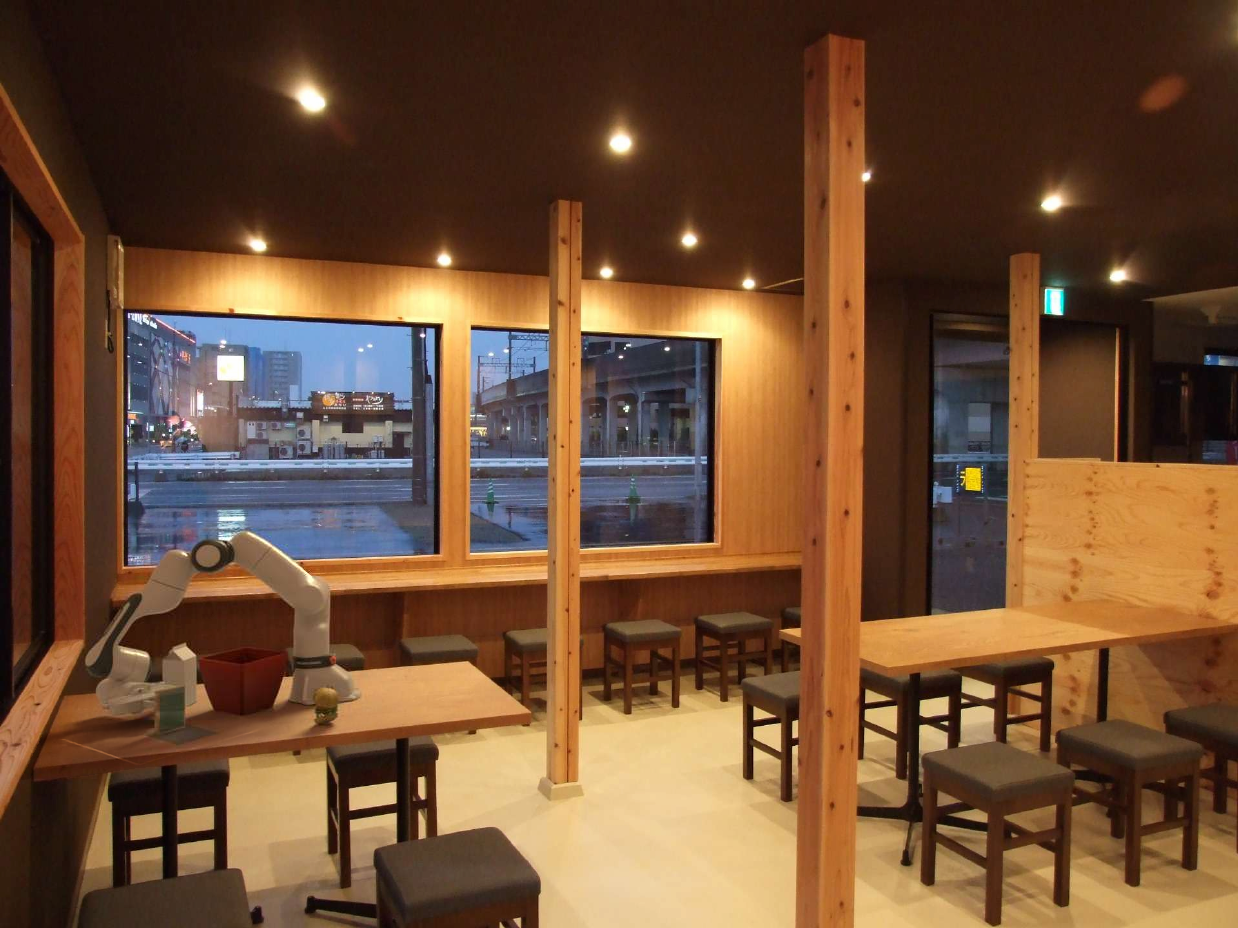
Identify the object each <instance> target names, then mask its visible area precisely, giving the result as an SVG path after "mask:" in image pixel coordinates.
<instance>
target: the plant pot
mask: <svg viewBox="0 0 1238 928" xmlns="http://www.w3.org/2000/svg"><path fill="white" fill-rule="evenodd" d="M288 657H289V652H288V651H281V650H274V649H273V650H272V649H264V648H256V647H249V646H245V647H239V648H236V649H232V650H227V651H222V652H219V653H214V654H208V655H205V656H201V657H198V664H199V669H200V670H199V671H200V676H201V678H202V681H203V686H204V689H205V692H206V695H207V698H208V700H209V702H210V705H211V708H212V709H213V711H214V712H220V713H224V714H225V713H226V714H230V715H231V714H232V715H237V716H247V715H250V714H253V713H255V712H258V711H262V710H264V708H265V709H267V708H271V707H273V706H274V705H275V702H276V701H277V700H276V699H277V697H278V694H279V692H280V689H281V686H282V683H283V679H284V675H285V672H286V668H287V662H288Z"/></svg>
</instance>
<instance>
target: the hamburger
mask: <svg viewBox="0 0 1238 928" xmlns="http://www.w3.org/2000/svg"><path fill="white" fill-rule="evenodd" d="M313 701H314V703H315V704H314V705H315V706H314V714H315V715H316V717H315V718H314V719H313V722H314V723H315V724H316V725H325V724H329V723H331V722H333V721H334V720H337V718H338V716H339V703H340V702H339V694H338V693H337V691H335V690H334V689H331V688H330V685H329V686H328V687H325V688H320V689H318V690H317V691H316V692H315V693H314V694H313Z"/></svg>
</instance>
